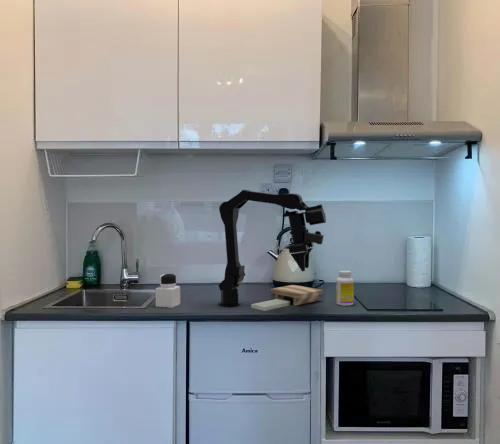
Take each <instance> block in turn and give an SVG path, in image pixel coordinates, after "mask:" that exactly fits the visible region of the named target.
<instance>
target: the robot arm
mask: <svg viewBox="0 0 500 444" xmlns="http://www.w3.org/2000/svg"><path fill="white" fill-rule="evenodd" d="M249 201H250V202H256V203H257V202H258V203H263V204H264V203H266V204H272V205H273V204H274V205H276V206H280V207H282V208H285V209H287V210H285V211H284V213H283V215H282V218H288V223H289V227H290V231H289V235H291V240H292V242H291V244H290V245H289V247H288V252H289V254H290V255H291V257H292V259H294V261H295V263H296V264H297V266H298V268H299V269H300V271H301V272H305V271H306V269H308V268H309V267H310V253H311V252H312V250H313V249H314V248H313V247H314V244H317V245H323V241H324V234H322V232H321V231H319V230H316V231H315V232H309V229H308V228H307V225H306V224H309V226H314V225H320V224H325V223H326V222H327V217H326V213H325V210H324V208H323V207H324V206H323V204H317V205H313V206H308V205H307V204H306V203H305V202H304V201H303V198H302V196H301V195H300V194H299V193H279V194H276V193H267V192H262V191H252V190H249V189H242V190H241V191H240V192H238V193H237V194H236V195H235V196H233V197H231V198H230V199H229V200H227V201H223V202H222V203H221V204H220V205H219V207H218V210H219V214H220V218H221V221H222V223H223V225H224V236H225V248H226V249H225V251H226V267H225V270H224V278H223V280H222V281H221V282H220V283H219V284H218V288H219V290H220V295H221V296H220V298H221V299H220V300H221V301H220V302H218V303H217V305H220V306H224V307H235V306H240V305H242V303H241V302H239V289H238V288H240V287H239V286H240V284H241V283H243V281H244V279H245V276H246V273H245V265H242V264H241V262H240V256H239V246H238V245H239V244H238V231H237V230H238V229H237V228H238V227H237V223H238V219H239V213H240V209H242V208H243V207H244V206H245V204H246V203H247V202H249ZM290 210H291V211H290ZM299 211H301V212H299ZM302 211H304V212H302Z"/></svg>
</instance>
